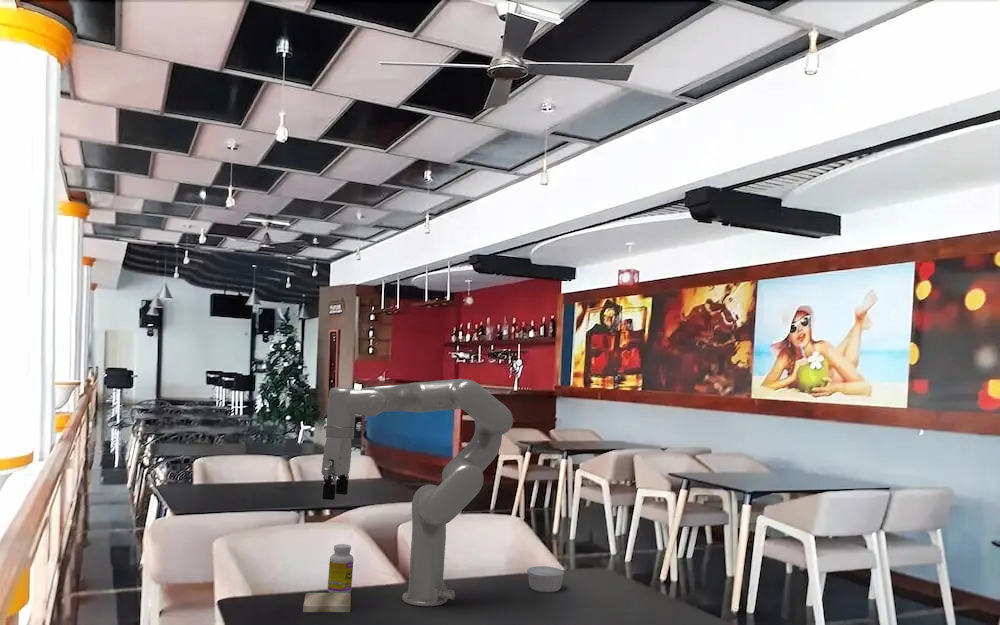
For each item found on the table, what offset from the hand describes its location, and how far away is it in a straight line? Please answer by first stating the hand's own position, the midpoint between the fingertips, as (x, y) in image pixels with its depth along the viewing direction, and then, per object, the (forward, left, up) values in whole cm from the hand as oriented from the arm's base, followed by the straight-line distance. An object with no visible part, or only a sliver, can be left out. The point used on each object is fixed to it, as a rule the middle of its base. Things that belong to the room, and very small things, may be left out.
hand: (335, 496), depth 215 cm
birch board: (0, +1, -28) cm, 28 cm away
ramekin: (-45, -48, -29) cm, 72 cm away
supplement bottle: (+4, -11, -29) cm, 31 cm away
